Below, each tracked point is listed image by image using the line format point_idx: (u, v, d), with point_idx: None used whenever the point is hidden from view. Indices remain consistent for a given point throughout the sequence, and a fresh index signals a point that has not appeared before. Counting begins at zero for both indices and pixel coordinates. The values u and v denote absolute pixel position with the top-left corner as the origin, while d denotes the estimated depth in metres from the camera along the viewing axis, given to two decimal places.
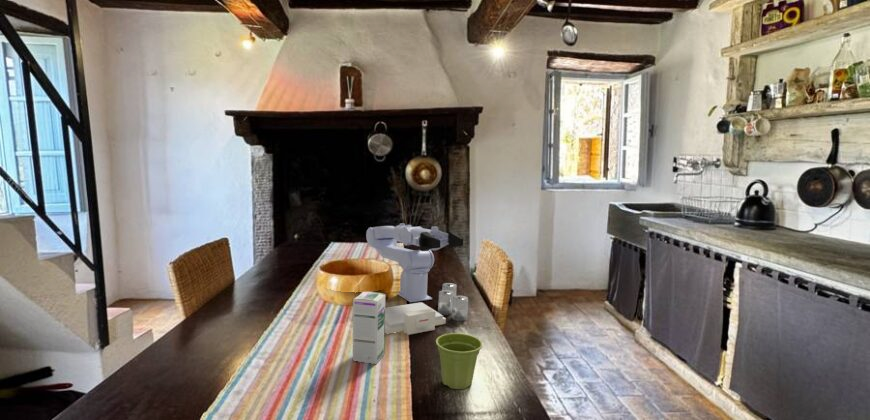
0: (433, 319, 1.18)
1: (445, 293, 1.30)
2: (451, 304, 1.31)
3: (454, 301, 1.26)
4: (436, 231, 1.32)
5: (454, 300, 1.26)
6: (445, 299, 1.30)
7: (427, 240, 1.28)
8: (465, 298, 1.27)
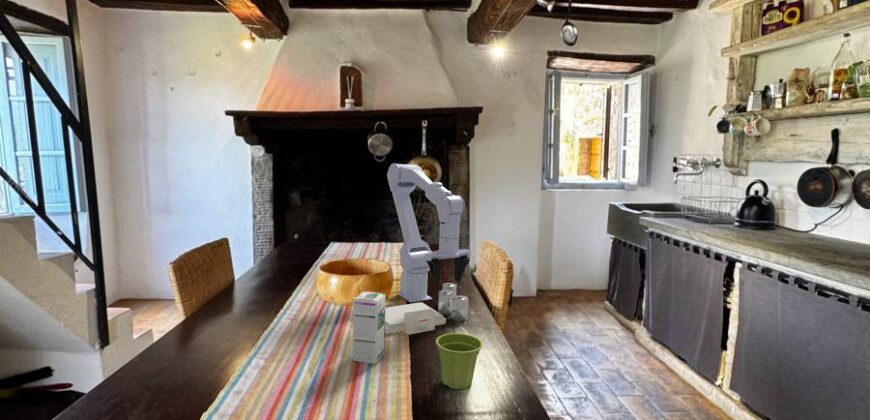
0: (433, 319, 1.18)
1: (445, 293, 1.30)
2: (451, 304, 1.31)
3: (454, 301, 1.26)
4: None
5: (454, 300, 1.26)
6: (445, 299, 1.30)
7: None
8: (465, 298, 1.27)
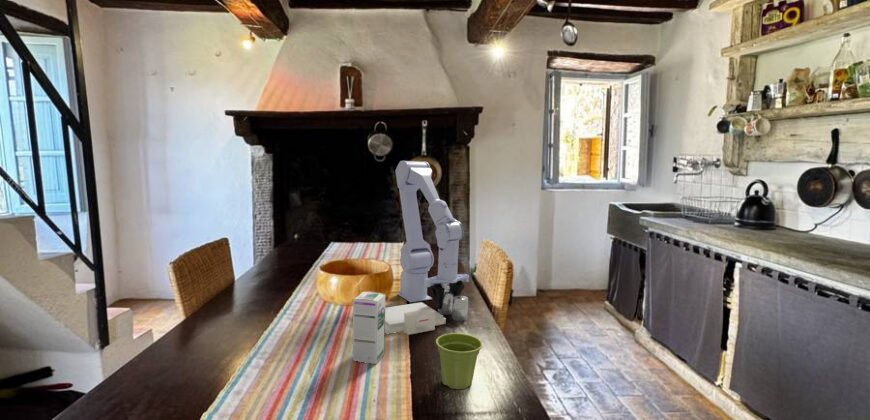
0: (433, 319, 1.18)
1: (445, 293, 1.30)
2: (451, 304, 1.31)
3: (454, 301, 1.26)
4: None
5: (454, 300, 1.26)
6: (445, 299, 1.30)
7: None
8: (465, 298, 1.27)
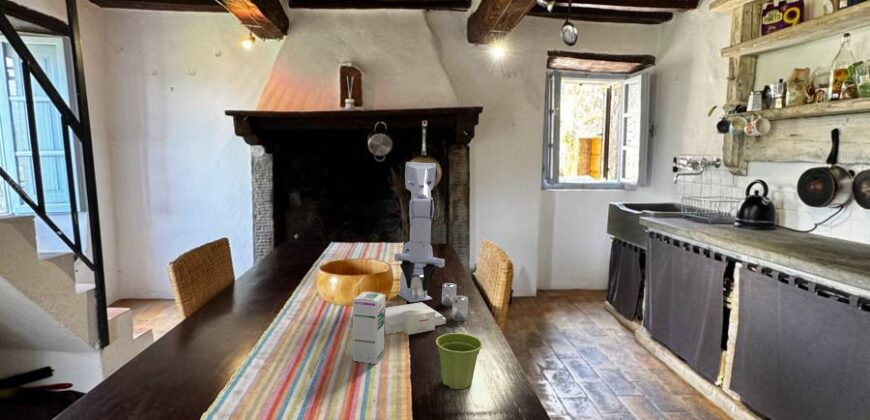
0: (433, 319, 1.18)
1: (414, 275, 1.25)
2: (416, 288, 1.23)
3: (454, 301, 1.26)
4: None
5: (454, 300, 1.26)
6: (411, 280, 1.24)
7: None
8: (465, 298, 1.27)
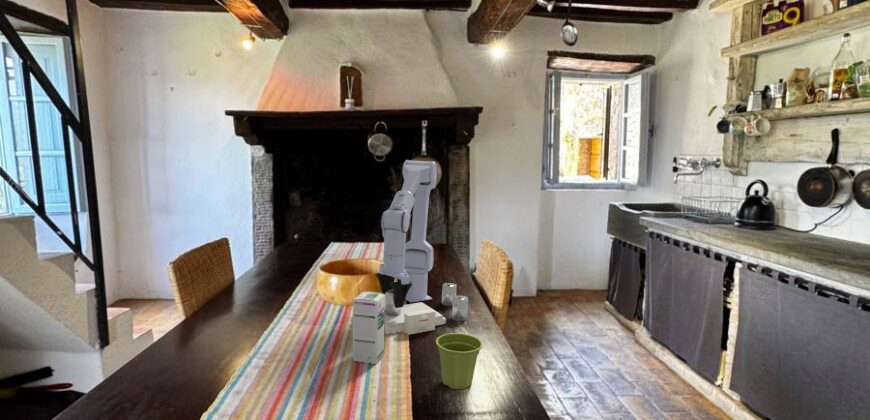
0: (433, 319, 1.18)
1: (389, 291, 1.22)
2: (386, 304, 1.20)
3: (454, 301, 1.26)
4: None
5: (454, 300, 1.26)
6: None
7: None
8: (465, 298, 1.27)
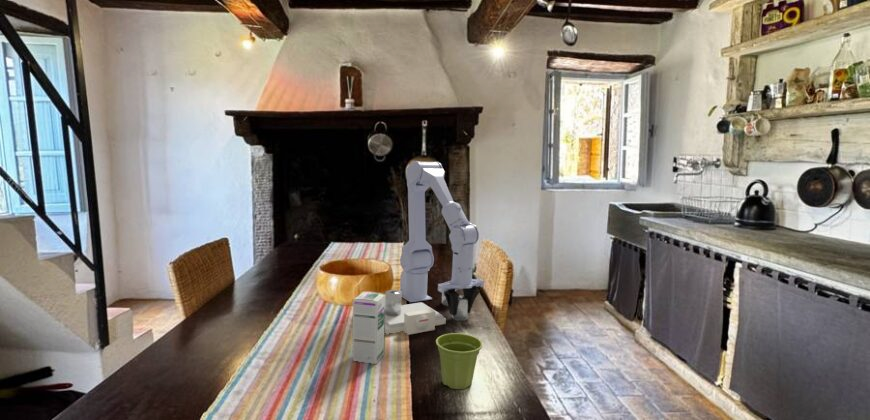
0: (433, 319, 1.18)
1: (389, 291, 1.22)
2: (386, 304, 1.20)
3: None
4: None
5: None
6: None
7: None
8: (465, 298, 1.27)
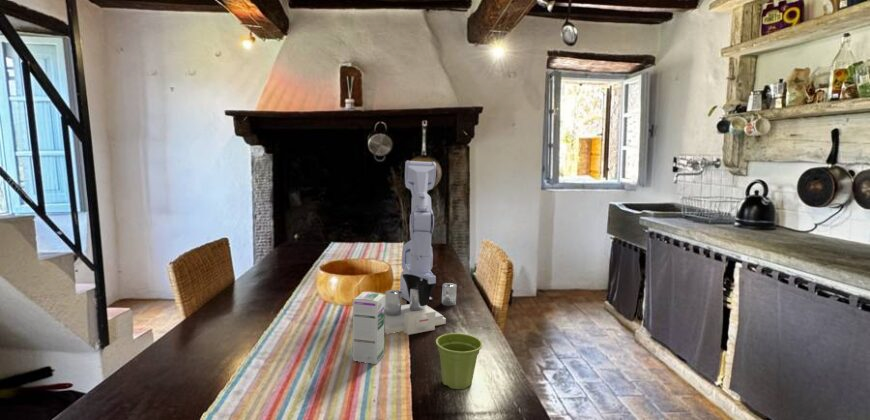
0: (433, 319, 1.18)
1: (389, 291, 1.22)
2: (386, 304, 1.20)
3: None
4: None
5: None
6: None
7: None
8: None
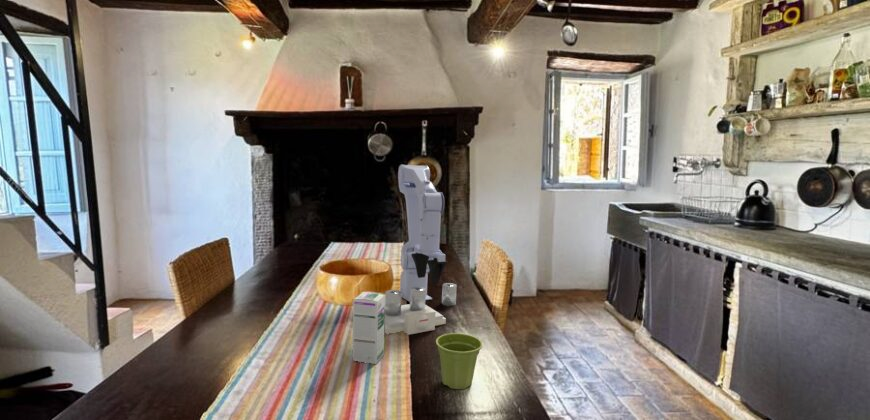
0: (433, 319, 1.18)
1: (389, 291, 1.22)
2: (386, 304, 1.20)
3: None
4: None
5: None
6: None
7: None
8: (418, 290, 1.24)
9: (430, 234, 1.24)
